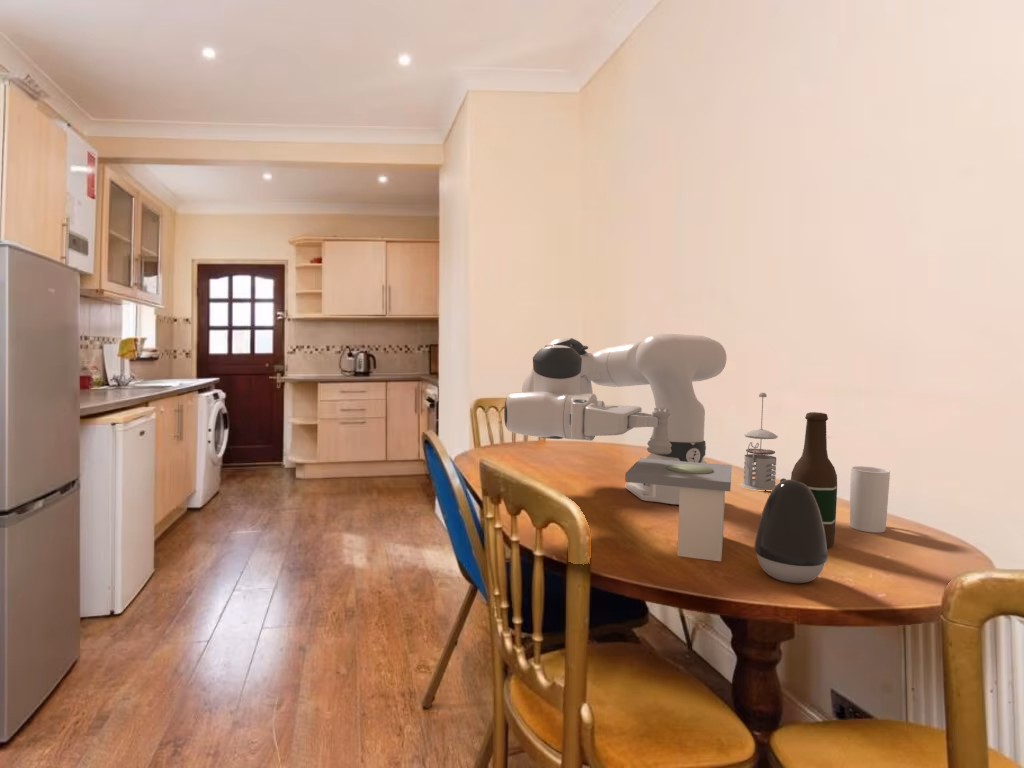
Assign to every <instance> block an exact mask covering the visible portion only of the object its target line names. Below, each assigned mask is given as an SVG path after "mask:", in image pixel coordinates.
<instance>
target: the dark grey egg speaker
mask: <svg viewBox="0 0 1024 768" xmlns="http://www.w3.org/2000/svg"><path fill="white" fill-rule="evenodd" d="M775 485H776V487H775V488H774V489H773V490H772V492H770V493H769V495H768V497H767V500H766V502H765V505H764V507H763V510H762V512H761V515H760V518H759V521H758V525H757V528H756V529H757V530H756V534H755V540H754V549H753V550H754V552H755V553H756V558H757V561H758V563H759V565H760V567H761V568H762V570H763V571H764V572H765V573H766V574H767V575H769V576H770V577H772V578H773V579H774V580H775V579H776V580H778V581H781V582H784V583H788V584H789V583H790V584H804V583H809V582H811V581H813V580H814V579H817V578H818V576H820V574H821V573H822V571H823V568H824V566H825V564H826V563H827V561H828V549H827V543H826V536H825V530H824V525H823V521H822V517H821V513H820V510H819V507H818V504H817V502H816V499H815V497H814V495H813V493H812V492H811V490H810V489H809V487H808V486H807V485H805V484H804V483H802V482H800V481H798V480H791V479H786V478H781V479H780V480H779V482H778V483H777V484H775Z"/></svg>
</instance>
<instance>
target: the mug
mask: <svg viewBox="0 0 1024 768" xmlns="http://www.w3.org/2000/svg"><path fill="white" fill-rule="evenodd" d="M890 474H891V471H890V470H888V469H885V468H882V467H881V468H880V467H873V466H862V465H861V466H858V465H857V466H851V467H850V485H849V486H850V487H849V488H850V489H849V526H850V528H851V529H854V530H856V531H861V532H866V533H874V534H875V533H876V534H879V533H884V532H886V531H887V530H886V528H887V520H888V519H887V518H888V516H887V515H888V504H889V491H890V479H891V478H890V477H891V475H890Z"/></svg>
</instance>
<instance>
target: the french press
mask: <svg viewBox="0 0 1024 768" xmlns="http://www.w3.org/2000/svg"><path fill="white" fill-rule="evenodd" d="M758 397H759V398H761V399H762V400H761V416H763V412H764V411H763V409H764V398H767V393H766V392H760V393H759V394H758ZM760 421H761V422H760V428H759V429H752V430H750V431H748V432H746V433H745V434H744V437H745V438H750V439H755V440H756V439H757V440H775V439H777V438H778V437H779V436H778V435H777V434H775V432H774V433H773V432H771V431H769V430H767V429H763V417H761V419H760ZM759 445H760V446H759ZM750 446H751V448H750ZM759 447H760V448H759ZM745 451H746V454H744V456H743V457H744V459H743V460H744V462H743V464H744V466H743V482H741V483H740V484H739V485H741V486H742V487H744V488H749V489H756V490H773V489H774V488H775V487H776V485H777V484H776V475H777V472H776V470H777V467H776V466H777V457H776V456H772V455H774V454H775V453H776V451H775V450H772V449H764V448H762V441H759V442H756V444H755V446H754V445H753V442H752V441H750V443H749V444H748V447H747V449H745ZM754 477H755V478H754ZM744 488H743V489H744Z"/></svg>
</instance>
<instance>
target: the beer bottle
mask: <svg viewBox="0 0 1024 768" xmlns="http://www.w3.org/2000/svg"><path fill="white" fill-rule="evenodd" d="M804 418H805V419H806V424H805V425H806V426H805V435H804V442H803V443H804V445H803V449H802V454H801V457H800V458H798V460H797V462H796V463H795V464H794V466H793V469H792V471H791V475H790V480H798V481H800V482H802V483H804V484H805V485H807V486H808V487H809V489H810V490H811V492H812V493H813V495H814V497H815V499H816V502H817V504H818V507H819V510H820V513H821V517H822V521H823V525H824V530H825V536H826V543H827V550H828V549H830V548H832V546H833V545H834V544H835V538H836V522H837V521H836V520H837V502H838V501H837V498H838V496H837V495H838V474H837V471H836V469H835V466H834V465H833V463H832V462H831V460H830V459H829V457H828V456H829V455H828V449H827V447H828V446H827V445H828V444H827V442H828V441H827V421H828V420H829V417H828V414H827V413H825V412H816V411H814V412H807V413H806V415H805V416H804Z"/></svg>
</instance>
